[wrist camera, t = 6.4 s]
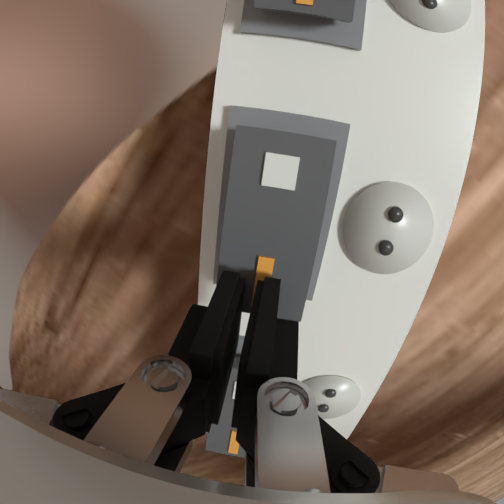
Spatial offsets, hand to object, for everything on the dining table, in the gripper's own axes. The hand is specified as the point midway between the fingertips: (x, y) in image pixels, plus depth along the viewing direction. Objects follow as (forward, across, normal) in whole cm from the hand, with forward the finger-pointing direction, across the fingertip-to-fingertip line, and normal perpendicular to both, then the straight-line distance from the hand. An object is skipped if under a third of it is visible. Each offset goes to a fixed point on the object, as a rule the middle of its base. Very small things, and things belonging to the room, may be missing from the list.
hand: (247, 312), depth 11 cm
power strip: (+7, -3, -3) cm, 8 cm away
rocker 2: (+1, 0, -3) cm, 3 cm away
